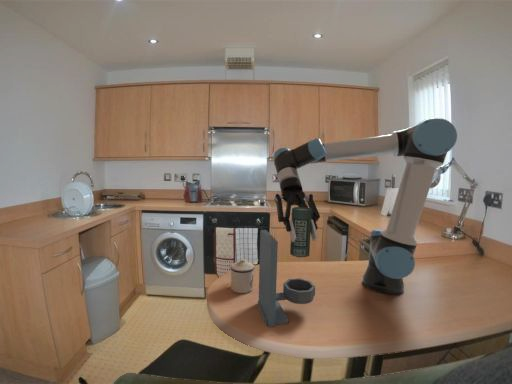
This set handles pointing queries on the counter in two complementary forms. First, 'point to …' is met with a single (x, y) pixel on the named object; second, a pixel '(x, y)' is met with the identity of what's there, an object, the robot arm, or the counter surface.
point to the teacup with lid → (242, 276)
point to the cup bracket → (268, 298)
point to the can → (301, 231)
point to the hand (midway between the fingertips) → (304, 239)
